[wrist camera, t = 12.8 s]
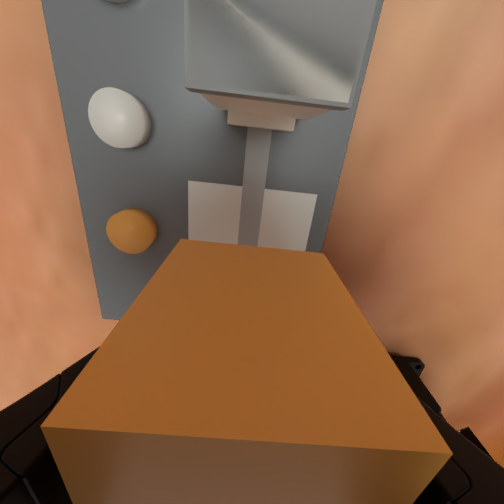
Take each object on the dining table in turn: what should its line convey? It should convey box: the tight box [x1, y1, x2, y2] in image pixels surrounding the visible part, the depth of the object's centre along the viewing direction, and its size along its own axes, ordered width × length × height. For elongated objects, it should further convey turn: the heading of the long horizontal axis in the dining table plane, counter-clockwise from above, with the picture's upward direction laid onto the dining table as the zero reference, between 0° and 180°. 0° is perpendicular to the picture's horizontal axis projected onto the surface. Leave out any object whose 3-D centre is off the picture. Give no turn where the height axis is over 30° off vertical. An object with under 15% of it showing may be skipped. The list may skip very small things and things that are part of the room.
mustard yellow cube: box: [40, 239, 453, 504], centre depth 7 cm, size 5×5×6 cm
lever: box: [184, 0, 377, 132], centre depth 8 cm, size 3×4×6 cm
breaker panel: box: [41, 0, 384, 320], centre depth 13 cm, size 21×14×2 cm, turn 174°
